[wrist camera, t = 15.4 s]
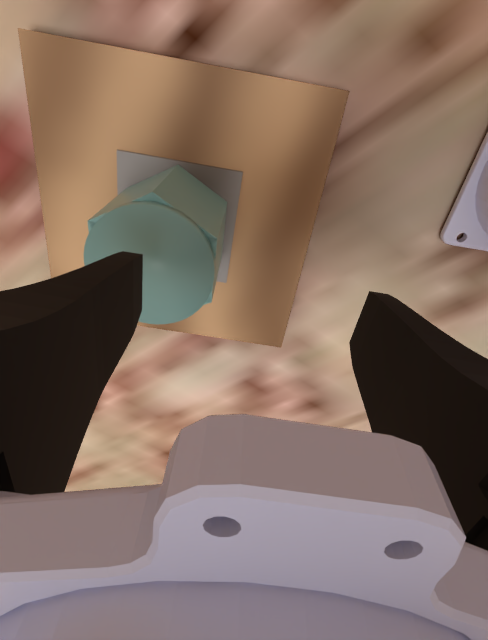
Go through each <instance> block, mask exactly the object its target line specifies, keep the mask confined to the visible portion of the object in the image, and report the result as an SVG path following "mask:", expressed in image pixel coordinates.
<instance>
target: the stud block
mask: <svg viewBox="0 0 488 640" xmlns="http://www.w3.org/2000/svg"><path fill="white" fill-rule="evenodd" d="M18 33H19V40H20V48H21V55H22V63H23V70H24V78H25V85H26V93H27V100H28V108H29V115H30V122H31V130H32V137H33V145H34V152H35V160H36V167H37V175H38V182H39V190H40V197H41V205H42V212H43V220H44V227H45V235H46V242H47V250H48V257H49V265H50V272H51V278H54V277H57V276H59V275H62V274H65V273H68V272H70V271H73V270H76V269H79V268H81V267H83V266H85V265H84V246H85V242H86V239H87V236H88V234H89V231H88V220H89V219H90V218H92V217H93V216H94V215H95V214H96V213H97V212H99V211H100V210H101V209H102V208H103V207H105V206H106V205H107V204H108V203H109V202H111V201H112V200H113V199H114V198H115V197H117V196H118V195H119V194H120V193H121V192H122V191H124V190H125V189H126V188H128V187H130V186H132V185H135V184H137V183H139V182H141V181H143V180H145V179H148V178H150V177H152V176H154V175H156V174H158V173H161V172H163V171H165V170H167V169H169V168H172V167H174V166H176V165H180V166H181V167H182V168H183V169H185V170H186V171H187V172H189V173H190V174H191V175H193V176H194V177H195V178H197V179H198V180H199V181H200V182H202V183H203V184H204V185H206V186H207V187H208V188H210V189H211V190H212V191H214V192H215V193H216V194H217V195H219V196H220V197H221V198H223V199H224V200H225V201H227V210H226V220H225V230H224V240H223V250H222V258H221V262H220V267H219V271H218V276H217V280H216V285H215V289H214V294H213V298H212V302H211V303H208V304H205V305H203V306H202V307H201V308H200V309H199V310H198V311H197V312H195V313H194V314H193V315H191V316H190V317H188V318H186V319H184V320H181V321H178V322H175V323H170V324H148V323H142V322H139V321H138V324H137V325H138V326H145V327H151V328H158V329H164V330H171V331H177V332H184V333H190V334H197V335H203V336H210V337H216V338H223V339H229V340H236V341H242V342H249V343H256V344H262V345H269V346H275V347H281V346H282V342H283V338H284V334H285V331H286V327H287V323H288V319H289V316H290V312H291V308H292V304H293V301H294V297H295V293H296V290H297V286H298V282H299V278H300V275H301V271H302V267H303V263H304V260H305V256H306V252H307V248H308V245H309V241H310V237H311V233H312V230H313V226H314V222H315V218H316V215H317V211H318V207H319V203H320V200H321V196H322V192H323V188H324V185H325V181H326V177H327V173H328V170H329V166H330V162H331V159H332V155H333V151H334V147H335V144H336V140H337V136H338V132H339V129H340V125H341V121H342V117H343V114H344V110H345V106H346V102H347V99H348V95H349V91H346V90H341V89H336V88H330V87H325V86H320V85H315V84H309V83H304V82H299V81H294V80H288V79H283V78H278V77H273V76H267V75H262V74H257V73H252V72H246V71H241V70H236V69H231V68H225V67H220V66H215V65H210V64H204V63H199V62H194V61H189V60H183V59H178V58H173V57H168V56H162V55H157V54H152V53H147V52H141V51H136V50H131V49H126V48H120V47H115V46H110V45H105V44H99V43H94V42H89V41H83V40H78V39H73V38H68V37H62V36H57V35H52V34H47V33H41V32H36V31H31V30H26V29H20V28H18Z"/></svg>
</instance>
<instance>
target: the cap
mask: <svg viewBox="0 0 488 640" xmlns="http://www.w3.org/2000/svg"><path fill="white" fill-rule="evenodd" d="M226 210H227V201H225V200H224V199H223V198H221V197H220V196H219V195H217V194H216V193H215V192H214V191H212V190H211V189H210V188H208V187H207V186H206V185H204V184H203V183H202V182H200V181H199V180H198V179H197V178H195V177H194V176H193V175H191V174H190V173H189V172H187V171H186V170H185V169H183V168H182V167H181V166H180V165H176V166H174V167H172V168H169V169H167V170H165V171H163V172H161V173H158V174H156V175H154V176H152V177H150V178H148V179H145V180H143V181H141V182H139V183H137V184H135V185H132V186H130V187H128V188H126V189H125V190H124V191H122V192H121V193H120V194H119V195H118V196H117V197H115V198H114V199H113V200H112V201H111V202H109V203H108V204H107V205H106V206H105V207H103V208H102V209H101V210H100V211H99V212H97V213H96V214H95V215H94V216H93V217H92V218H90V219H89V220H88V231H89V234H88V236H87V239H86V242H85V246H84V265H85V266H86V265H88V264H91V263H93V262H96V261H98V260H100V259H103V258H105V257H107V256H110V255H112V254H115V253H118V252H122V251H125V252H131V253H137V254H143V280H142V312H141V315H140V318H139V322H142V323H148V324H170V323H175V322H178V321H181V320H184V319H186V318H188V317H190V316H191V315H193V314H194V313H195V312H197V311H198V310H199V309H200V308H201V307H202V306H203V305H205V304H208V303H211V302H212V298H213V294H214V289H215V285H216V280H217V276H218V271H219V267H220V262H221V258H222V250H223V240H224V230H225V220H226Z"/></svg>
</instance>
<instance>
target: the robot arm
mask: <svg viewBox="0 0 488 640" xmlns="http://www.w3.org/2000/svg"><path fill="white" fill-rule="evenodd" d="M461 233H464V235H463V237H462V238H461V239H458V240H456V239H457V236H458V235H459V234H461ZM440 237H441V240H442V241H443V242H444V243H446V244H448V245H454V246H460V247H466V248H471V249H477V250H483V251H488V132H487V134H486V136H485V138H484V140H483V142H482V145H481V147H480V149H479V151H478V153H477V155H476V158H475V160H474V162H473V164H472V166H471V168H470V171H469V173H468V175H467V177H466V179H465V181H464V184H463V186H462V188H461V190H460V192H459V195H458V197H457V199H456V201H455V203H454V205H453V208H452V210H451V212H450V214H449V216H448V218H447V221H446V223H445V225H444V227H443V229H442V231H441V235H440ZM142 280H143V254H137V253H131V252H125V251H122V252H118V253H115V254H112V255H110V256H107V257H105V258H103V259H100V260H98V261H96V262H93V263H91V264H88V265H86V266H83V267H81V268H79V269H76V270H73V271H70V272H68V273H65V274H62V275H59V276H57V277H54V278H51V279H48V280H45V281H41V282H38V283H34V284H31V285H27V286H23V287H19V288H15V289H10V290H5V291H0V640H488V359H486V358H485V357H483V356H481V355H479V354H477V353H476V352H474V351H472V350H471V349H469V348H467V347H466V346H464V345H462V344H461V343H459V342H458V341H456V340H455V339H453V338H452V337H450V336H449V335H447V334H446V333H444V332H443V331H441V330H440V329H438V328H437V327H436V326H434V325H433V324H431V323H430V322H429V321H427V320H426V319H424V318H423V317H422V316H420V315H419V314H418V313H416V312H415V311H413V310H412V309H411V308H409V307H408V306H406V305H405V304H403V303H402V302H401V301H399V300H397V299H396V298H394V297H392V296H390V295H388V294H383V293H377V292H371V291H369V294H368V296H367V299H366V301H365V304H364V306H363V309H362V312H361V314H360V317H359V319H358V322H357V324H356V327H355V330H354V332H353V335H352V337H351V340H350V351H351V359H352V366H353V370H354V374H355V377H356V380H357V384H358V387H359V390H360V394H361V397H362V400H363V403H364V406H365V410H366V413H367V416H368V419H369V423H370V426H371V430H372V432H365V431H358V430H351V429H344V428H337V427H330V426H323V425H316V424H309V423H302V422H295V421H288V420H281V419H274V418H267V417H261V416H254V415H247V414H232V415H211V416H207V417H205V418H203V419H201V420H199V421H197V422H195V423H193V424H191V425H189V426H187V427H185V428H183V429H181V431H180V433H179V435H178V437H177V439H176V440H175V442H174V444H173V446H172V448H171V450H170V454H169V458H168V462H167V466H166V470H165V475H164V479H163V483H162V484H157V485H145V486H133V487H121V488H108V489H96V490H84V491H72V492H64V491H65V488H66V485H67V482H68V479H69V477H70V474H71V471H72V468H73V465H74V462H75V460H76V457H77V454H78V451H79V449H80V446H81V443H82V441H83V438H84V436H85V433H86V430H87V428H88V425H89V423H90V420H91V418H92V415H93V413H94V410H95V408H96V405H97V403H98V400H99V398H100V396H101V394H102V392H103V390H104V388H105V386H106V384H107V382H108V380H109V378H110V377H111V375H112V373H113V371H114V369H115V368H116V366H117V364H118V362H119V360H120V358H121V357H122V355H123V353H124V351H125V349H126V347H127V346H128V344H129V342H130V340H131V338H132V336H133V334H134V332H135V329H136V326H137V324H138V321H139V318H140V315H141V312H142Z"/></svg>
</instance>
